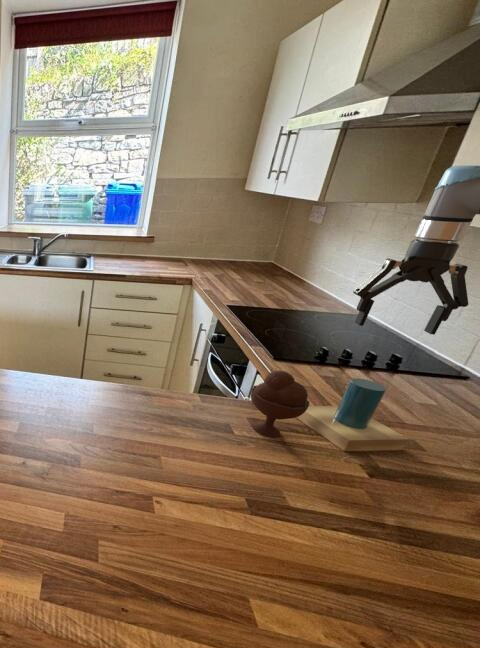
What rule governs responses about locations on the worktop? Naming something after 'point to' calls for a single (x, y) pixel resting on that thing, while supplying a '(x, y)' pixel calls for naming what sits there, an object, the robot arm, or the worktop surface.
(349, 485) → the worktop surface
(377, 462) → the worktop surface
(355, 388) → the canister
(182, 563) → the worktop surface
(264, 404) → the ice cream bowl
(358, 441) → the platform
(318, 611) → the worktop surface
